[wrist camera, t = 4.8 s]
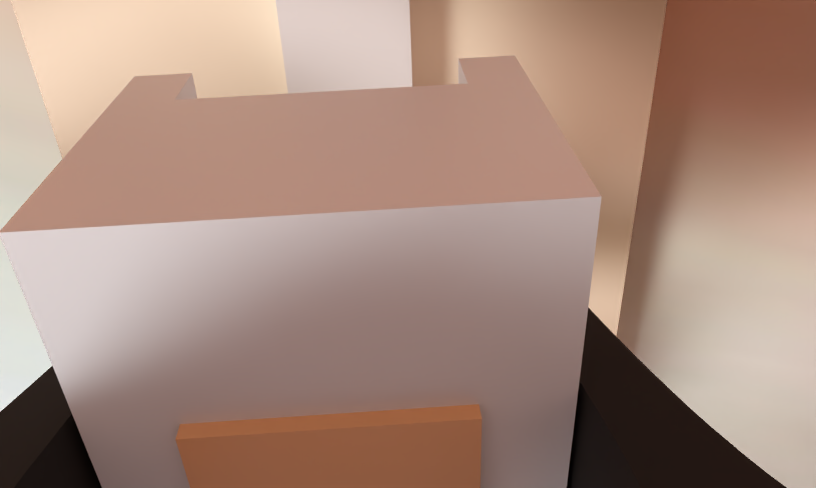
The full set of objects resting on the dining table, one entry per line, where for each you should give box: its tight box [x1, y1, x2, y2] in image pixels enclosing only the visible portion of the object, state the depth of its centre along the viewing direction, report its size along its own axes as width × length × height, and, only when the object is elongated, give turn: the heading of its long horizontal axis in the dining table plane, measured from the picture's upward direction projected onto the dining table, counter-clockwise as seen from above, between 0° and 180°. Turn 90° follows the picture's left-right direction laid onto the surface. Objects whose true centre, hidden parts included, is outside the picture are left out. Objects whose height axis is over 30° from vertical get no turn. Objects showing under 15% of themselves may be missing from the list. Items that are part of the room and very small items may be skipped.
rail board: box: [11, 0, 667, 336], centre depth 15 cm, size 19×13×5 cm
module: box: [0, 55, 602, 488], centre depth 9 cm, size 7×5×4 cm
